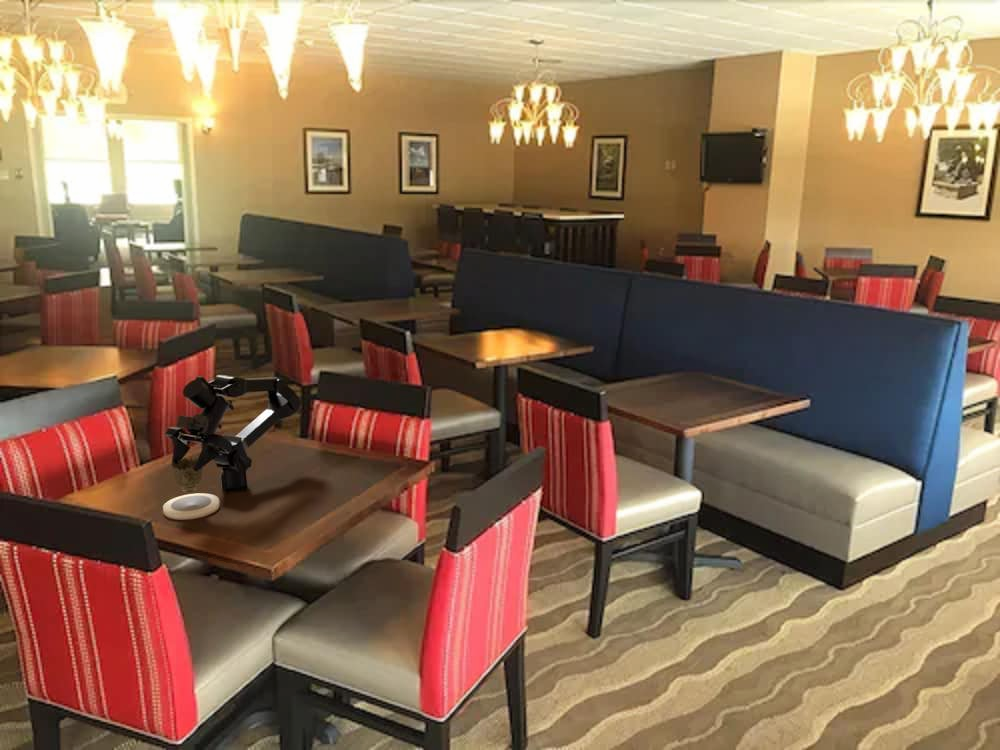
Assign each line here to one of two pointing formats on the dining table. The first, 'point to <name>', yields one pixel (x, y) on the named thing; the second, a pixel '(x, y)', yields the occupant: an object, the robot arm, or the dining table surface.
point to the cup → (187, 474)
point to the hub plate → (191, 506)
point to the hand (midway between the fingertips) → (183, 468)
